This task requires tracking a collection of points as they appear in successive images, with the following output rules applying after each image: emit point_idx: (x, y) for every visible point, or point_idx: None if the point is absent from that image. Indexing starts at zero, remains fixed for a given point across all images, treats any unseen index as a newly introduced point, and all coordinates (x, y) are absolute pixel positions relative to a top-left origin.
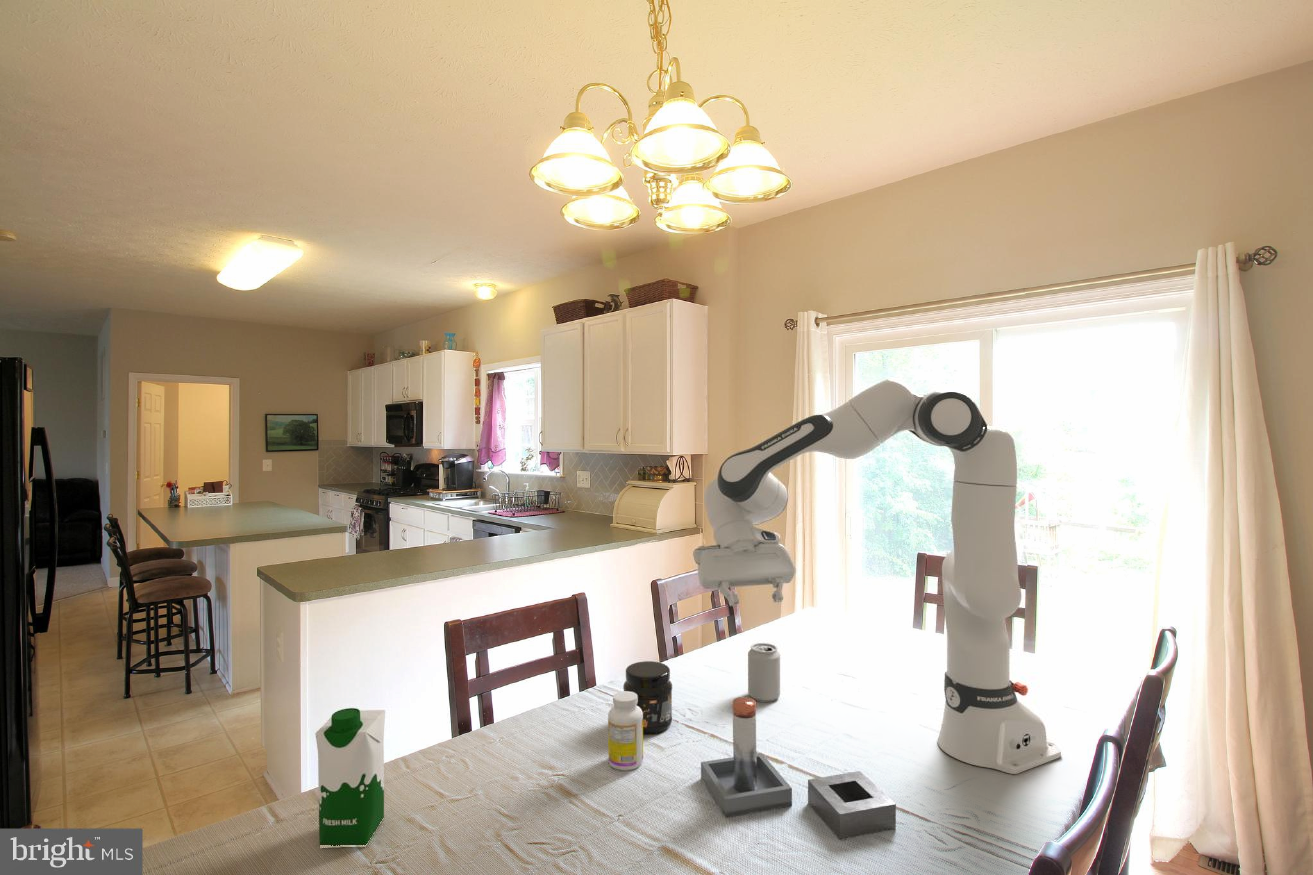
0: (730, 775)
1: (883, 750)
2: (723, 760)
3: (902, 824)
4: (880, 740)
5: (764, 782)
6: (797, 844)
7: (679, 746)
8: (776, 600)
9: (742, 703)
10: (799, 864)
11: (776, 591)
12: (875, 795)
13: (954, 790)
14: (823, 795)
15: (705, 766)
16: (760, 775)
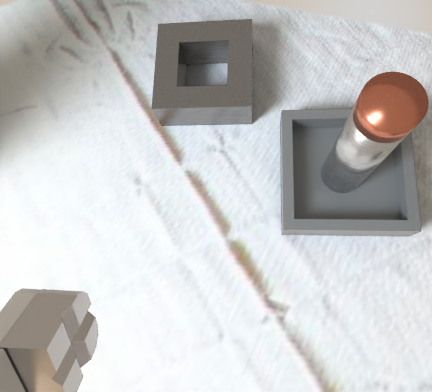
0: (355, 215)
1: (35, 229)
2: (372, 223)
3: (152, 53)
4: (14, 263)
5: (301, 178)
6: (313, 47)
7: (425, 373)
8: (86, 304)
9: (402, 92)
10: (329, 15)
11: (28, 342)
12: (172, 46)
13: (26, 101)
14: (250, 63)
15: (416, 212)
16: (299, 199)
